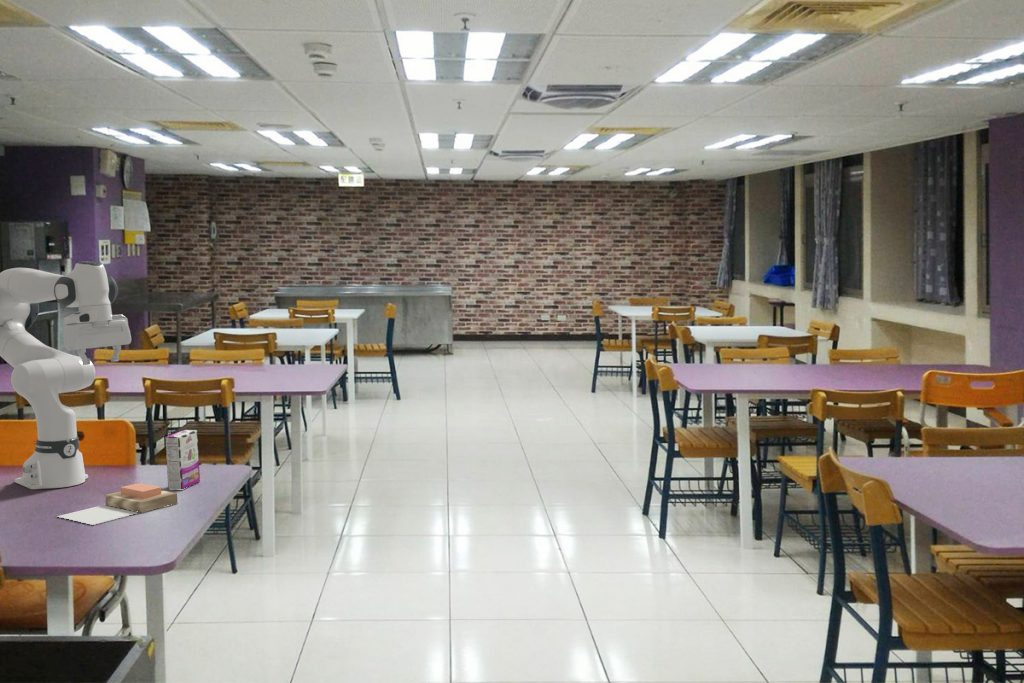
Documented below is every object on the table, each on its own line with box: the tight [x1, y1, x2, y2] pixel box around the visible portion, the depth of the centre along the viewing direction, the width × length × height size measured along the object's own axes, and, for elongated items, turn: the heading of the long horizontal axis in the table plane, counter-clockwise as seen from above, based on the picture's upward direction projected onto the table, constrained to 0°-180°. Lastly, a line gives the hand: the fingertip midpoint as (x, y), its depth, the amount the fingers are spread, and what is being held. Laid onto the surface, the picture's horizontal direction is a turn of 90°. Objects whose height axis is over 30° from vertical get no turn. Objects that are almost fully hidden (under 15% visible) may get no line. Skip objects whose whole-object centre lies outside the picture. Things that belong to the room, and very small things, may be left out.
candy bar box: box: [164, 429, 201, 490], centre depth 316 cm, size 11×5×16 cm, turn 168°
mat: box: [56, 505, 138, 526], centre depth 283 cm, size 16×14×1 cm
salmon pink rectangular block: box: [120, 482, 162, 499], centre depth 295 cm, size 10×6×2 cm, turn 56°
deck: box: [104, 489, 178, 513], centre depth 295 cm, size 16×12×3 cm
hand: (101, 363), depth 305 cm, fingers open, 8 cm apart
